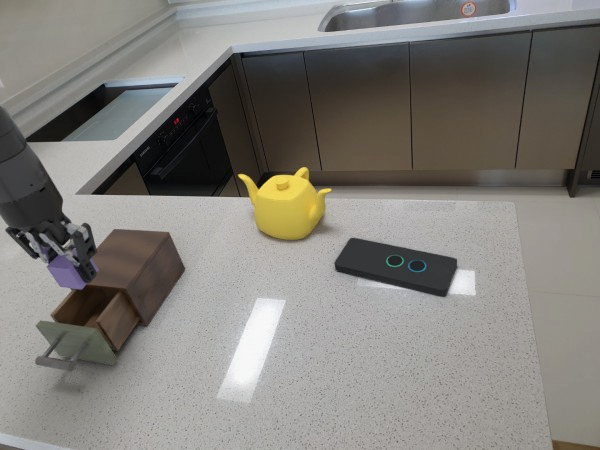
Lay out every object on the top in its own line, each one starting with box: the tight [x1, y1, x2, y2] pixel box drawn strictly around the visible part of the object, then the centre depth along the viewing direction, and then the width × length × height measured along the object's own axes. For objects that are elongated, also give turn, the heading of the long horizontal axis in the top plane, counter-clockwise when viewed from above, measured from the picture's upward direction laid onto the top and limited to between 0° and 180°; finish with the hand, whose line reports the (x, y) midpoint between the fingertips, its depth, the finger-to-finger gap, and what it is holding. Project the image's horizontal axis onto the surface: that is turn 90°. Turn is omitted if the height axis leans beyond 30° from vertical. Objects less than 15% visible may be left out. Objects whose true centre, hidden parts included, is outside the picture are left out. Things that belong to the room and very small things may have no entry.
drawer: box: [34, 287, 140, 372], centre depth 77 cm, size 18×11×8 cm, turn 163°
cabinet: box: [69, 228, 186, 327], centre depth 85 cm, size 15×13×10 cm
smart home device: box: [333, 237, 458, 297], centre depth 81 cm, size 8×2×20 cm
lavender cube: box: [46, 248, 99, 290], centre depth 69 cm, size 4×4×4 cm
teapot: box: [237, 166, 332, 241], centre depth 95 cm, size 22×16×11 cm
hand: (78, 277), depth 70 cm, fingers closed on lavender cube, 4 cm apart
